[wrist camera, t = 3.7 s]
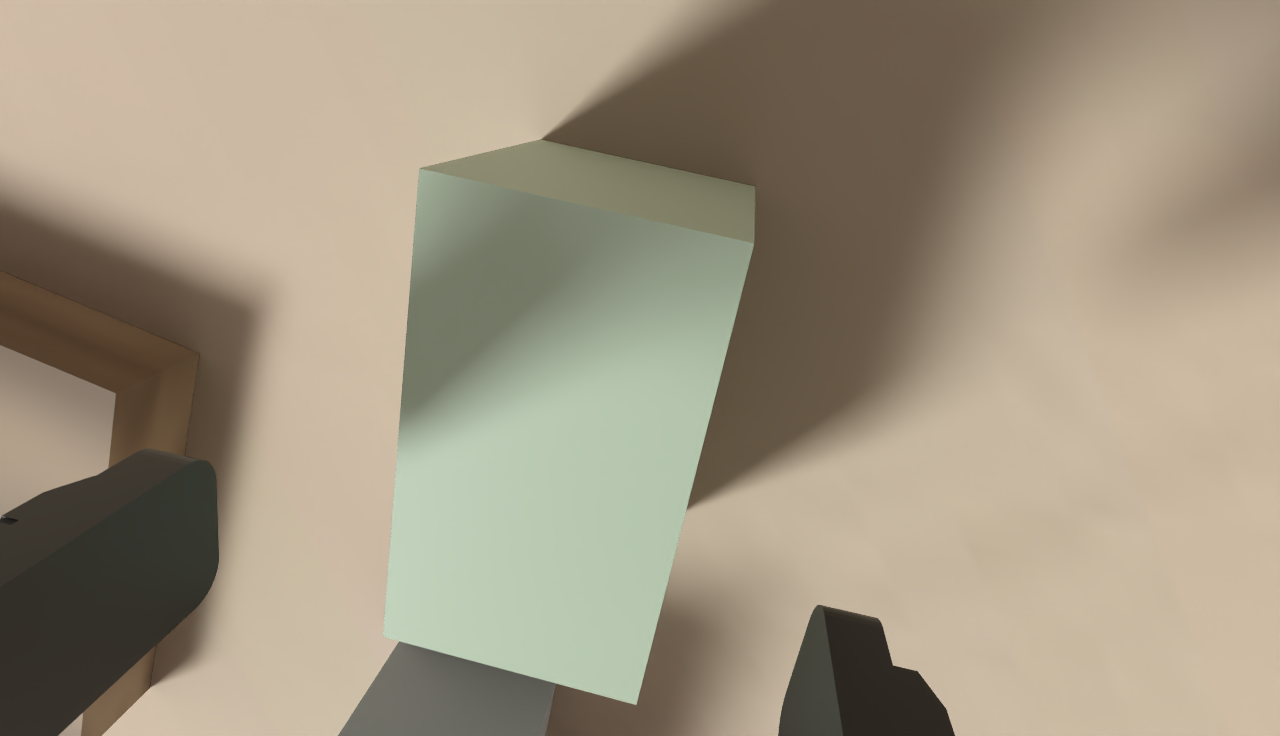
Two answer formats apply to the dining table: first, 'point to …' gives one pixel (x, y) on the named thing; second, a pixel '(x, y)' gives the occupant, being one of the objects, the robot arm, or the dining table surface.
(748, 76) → the dining table surface
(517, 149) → the sage brick
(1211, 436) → the dining table surface
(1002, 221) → the dining table surface
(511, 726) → the slate brick
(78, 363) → the walnut brick
